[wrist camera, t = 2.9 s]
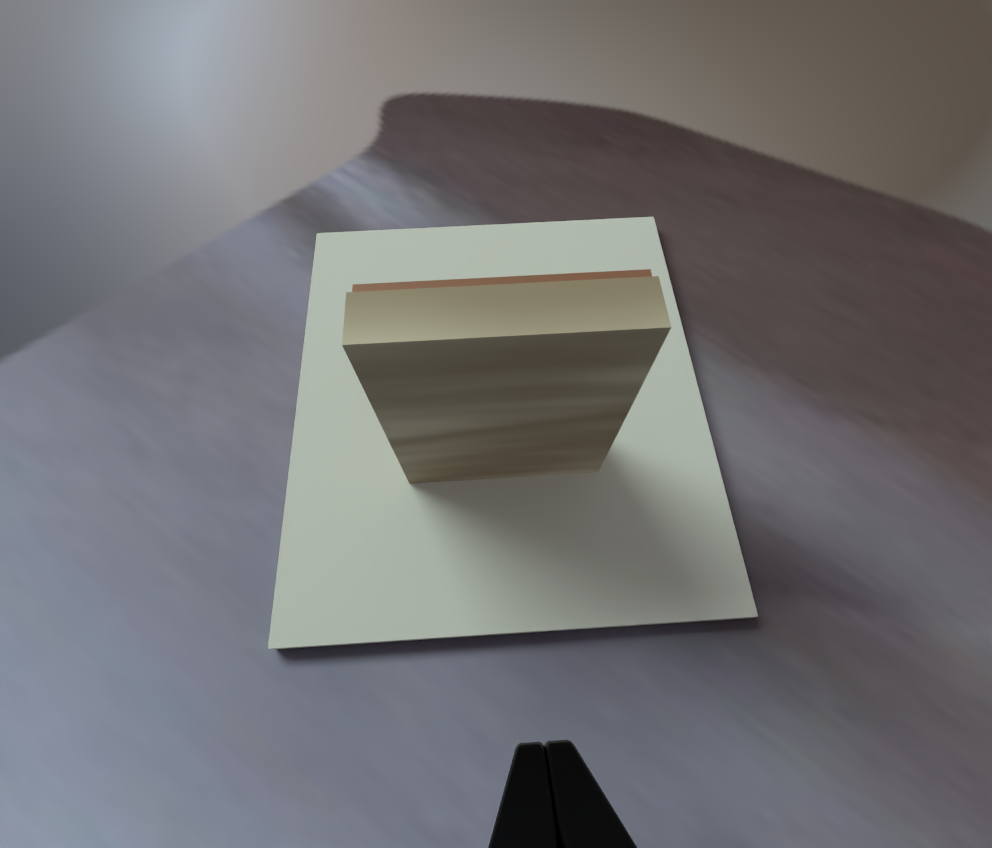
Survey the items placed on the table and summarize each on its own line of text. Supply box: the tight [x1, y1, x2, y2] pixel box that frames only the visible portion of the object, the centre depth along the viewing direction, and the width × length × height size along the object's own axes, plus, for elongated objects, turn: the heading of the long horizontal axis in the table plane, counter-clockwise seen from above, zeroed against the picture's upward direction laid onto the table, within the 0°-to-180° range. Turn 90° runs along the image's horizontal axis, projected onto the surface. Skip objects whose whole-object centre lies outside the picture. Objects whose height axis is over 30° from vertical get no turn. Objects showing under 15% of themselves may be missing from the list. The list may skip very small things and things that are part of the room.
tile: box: [342, 269, 671, 484], centre depth 15 cm, size 2×7×9 cm, turn 94°
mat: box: [268, 217, 758, 649], centre depth 21 cm, size 18×16×1 cm
